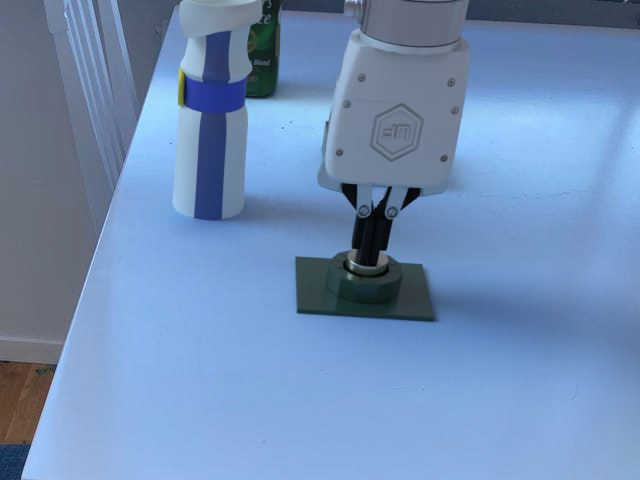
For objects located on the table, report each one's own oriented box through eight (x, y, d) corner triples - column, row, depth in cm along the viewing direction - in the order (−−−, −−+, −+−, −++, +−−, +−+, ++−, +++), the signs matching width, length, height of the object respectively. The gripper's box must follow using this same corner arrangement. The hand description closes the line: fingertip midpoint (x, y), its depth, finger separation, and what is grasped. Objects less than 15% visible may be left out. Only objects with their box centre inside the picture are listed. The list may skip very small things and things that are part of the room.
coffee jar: (202, 95, 123) (211, -80, 110) (209, 75, 129) (219, -94, 115) (275, 101, 123) (294, -74, 109) (280, 81, 128) (298, -89, 114)
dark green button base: (417, 285, 90) (427, 245, 87) (428, 340, 84) (440, 298, 81) (292, 278, 91) (297, 237, 88) (294, 331, 84) (300, 289, 81)
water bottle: (166, 221, 98) (175, -73, 80) (170, 187, 104) (178, -95, 85) (245, 224, 98) (272, -70, 80) (244, 190, 104) (269, -92, 85)
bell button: (382, 267, 86) (386, 249, 85) (385, 287, 84) (389, 268, 82) (343, 265, 86) (346, 246, 85) (345, 284, 84) (348, 265, 82)
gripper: (314, 27, 68) (283, 272, 81) (523, 38, 67) (456, 282, 81) (311, -2, 73) (282, 233, 86) (506, 8, 72) (446, 242, 86)
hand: (366, 256), depth 83 cm, fingers closed
